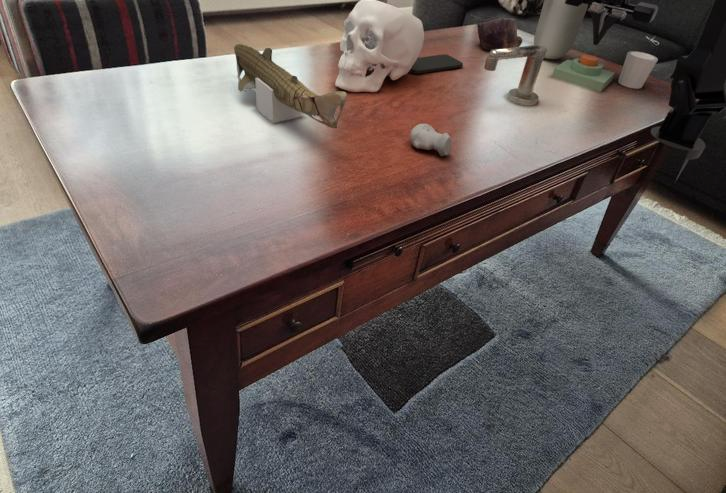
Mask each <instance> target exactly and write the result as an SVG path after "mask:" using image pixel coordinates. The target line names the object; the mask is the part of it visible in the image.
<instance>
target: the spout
mask: <svg viewBox="0 0 726 493" xmlns="http://www.w3.org/2000/svg"><path fill="white" fill-rule="evenodd" d="M546 51H547V49H546V48H545V47H543V46H539V45H534V44H532V45H525V46H524V45H523V46H519V47H514V48H504V49H494V50H492V51H490V50H489V53H488V55H487V56H486V59H485V63H484V68H483V69H484V70H486V71H489V72H495V71H496V69H497V65H498V61H502V60H510V59H511V60H512V59H518V58H519V59H520V58H527V57H529V56H531V57H533V58H539V59H541V58H543V59H545V58H544V57H545V54H546Z"/></svg>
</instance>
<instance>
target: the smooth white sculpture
mask: <svg viewBox="0 0 726 493" xmlns="http://www.w3.org/2000/svg"><path fill="white" fill-rule="evenodd" d="M409 140H410V143H411V145H412V146H413V147H414V148H416V149H421V150H426V151H430V150H433V149H434V150H435V151H437V152H438V154H439V156H440V157H444V156H448V155H450V153H451V150H452V144H453V141H452V139H451V137H450V135H449V133H448V132H444V133H439V132H437V131H436V129H434V127H432V126H431V125H430V124H428V123H418V124H416V125H415V126H414V127H413V128H412V129H411V131H410V133H409Z"/></svg>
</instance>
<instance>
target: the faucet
mask: <svg viewBox="0 0 726 493" xmlns="http://www.w3.org/2000/svg"><path fill="white" fill-rule="evenodd" d="M543 61H544V58H541V59H539V58H533V57H531V56H529V57H526V60H525V63H524V66H523V69H522V73H521V75H520V79H519V83H518V85H517V87H516V88H515V87H514V88H510V89H509V90H508V93H507V99H508V100H509V101H510V102H512V103H515V104H517V105H521V106H529V107H531V106H535V105H537V103H538V101H539V94H537V93H536V92H534V88H535V85H536V82H537V80H538V76H539V74H540V70H541V68H542V65H543Z"/></svg>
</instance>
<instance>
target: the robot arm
mask: <svg viewBox="0 0 726 493" xmlns="http://www.w3.org/2000/svg"><path fill="white" fill-rule="evenodd" d="M630 1H631V0H566V1H565V4H568V5H572V6H576V7H577V6H579V5H581V4H582V3H584V4H588V6H590V9H589V10H588V11H587V14H588V15H591V21H592V29H593V30H592V35H593V36H592V44H593V45H594V46H598V45H599V43H600V42H601V41H602V39H603V38H604V37H605V36H606V34H607V33H608V32H609V30H610V29H611V28H612V27H613V26H614V24H616V22H621V21H623V20H624V19H626V17H627V15H631V18H632V19H633V21H637V22H640V23H644V24H650V23H652V22H653V20H655V17H656V16H657V14H658V11H659V7H658V5H657V4H652V3H647V2H643V1H640V2H638V3H637V4H632V3H630ZM609 10H611V13H610V14H609V15H607V13H608V11H609ZM669 79H672V80H671V83H670V95H669V101H668V106H669V107H670V108H671V109H669V110H668V112H667V113H666V116H665V117H664V120H662V123H661V124H660V126H661V127H660V129H659V132H660V134H659V136H658V138H661V139H664V140H667V141H670V142H673V143H676V144H679V145H682V146H685V147H688V148H691V149H693V148H694V146H695V144H696V141H697V139H698V138H700V135H702V134H701V133H703V131H704V129H705V127H706V126H707V124H708V122H709V120H710V119H711V117H712V114H721V113H722V112H723V111H724V110H725V109H726V89H725V83H726V0H714V1H713V3H712V6H711V9H710V11H709V13H708V16H707V18H706V21H705V24H704V26H703V29H702V32H701V34H700V36H699V39H698V41H697V44H696V46H695V48H694V49H693V50H692V51H691V53H689V55H680V56H678V59H677V60H676V64H675V67H674V70H673V72H672V74H671V75H670V77H669Z"/></svg>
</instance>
